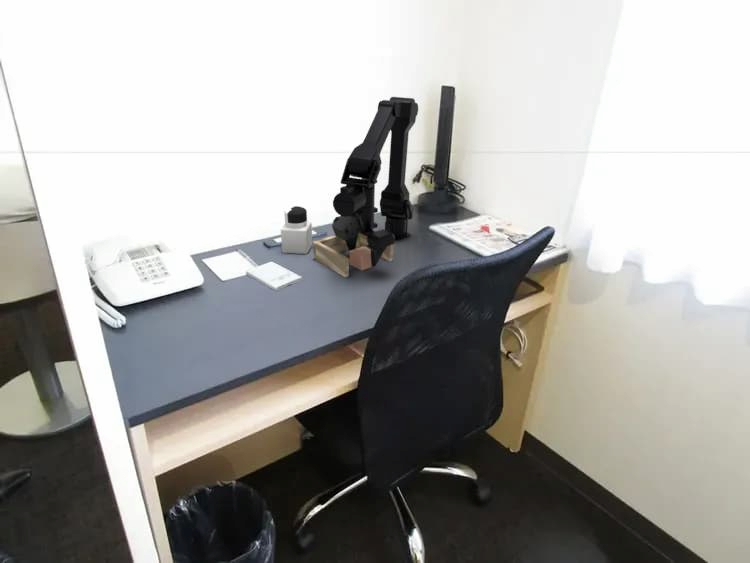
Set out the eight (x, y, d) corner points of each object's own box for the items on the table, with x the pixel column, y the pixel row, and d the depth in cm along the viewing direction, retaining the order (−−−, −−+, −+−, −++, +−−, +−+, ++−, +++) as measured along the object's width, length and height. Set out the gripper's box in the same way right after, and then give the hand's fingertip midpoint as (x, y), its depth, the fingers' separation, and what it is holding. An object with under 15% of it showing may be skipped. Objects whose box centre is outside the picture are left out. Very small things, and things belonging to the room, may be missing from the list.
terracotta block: (363, 259, 132) (363, 246, 130) (375, 265, 128) (376, 252, 127) (349, 264, 129) (349, 250, 127) (361, 271, 126) (361, 257, 124)
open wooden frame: (360, 243, 141) (360, 227, 138) (392, 260, 131) (393, 243, 129) (313, 258, 131) (312, 241, 129) (344, 277, 122) (344, 259, 119)
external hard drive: (272, 266, 128) (302, 282, 121) (246, 276, 123) (276, 293, 115) (272, 260, 127) (302, 276, 120) (245, 270, 122) (275, 287, 114)
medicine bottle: (312, 244, 140) (310, 204, 134) (307, 254, 134) (305, 213, 128) (288, 242, 140) (285, 203, 135) (282, 253, 134) (278, 212, 128)
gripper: (315, 201, 122) (317, 256, 130) (361, 221, 110) (361, 282, 117) (350, 192, 129) (350, 246, 136) (397, 211, 116) (394, 269, 124)
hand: (362, 260), depth 128 cm, fingers open, 9 cm apart
